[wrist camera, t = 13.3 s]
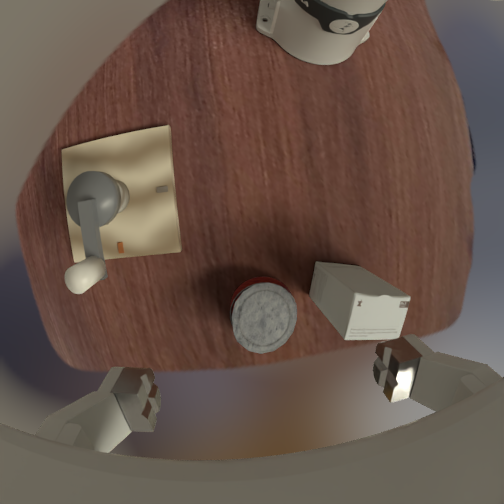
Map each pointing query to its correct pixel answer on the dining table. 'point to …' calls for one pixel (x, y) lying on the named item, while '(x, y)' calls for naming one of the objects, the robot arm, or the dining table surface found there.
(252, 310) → the canned food
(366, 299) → the skincare box
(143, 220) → the mount board
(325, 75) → the dining table surface
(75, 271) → the white knob lever
